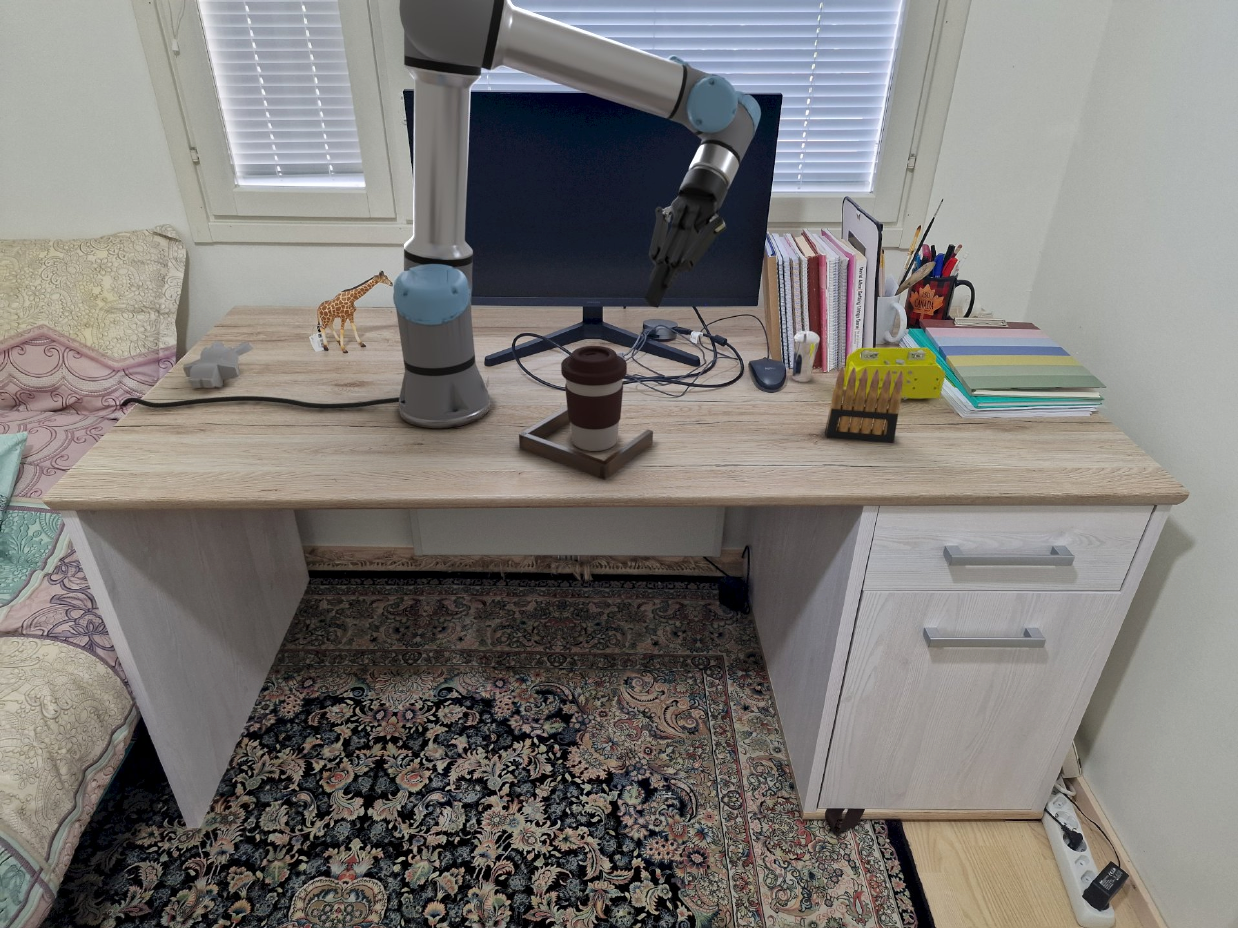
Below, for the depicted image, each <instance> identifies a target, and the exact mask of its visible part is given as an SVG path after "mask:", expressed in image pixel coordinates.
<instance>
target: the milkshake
mask: <svg viewBox="0 0 1238 928" xmlns="http://www.w3.org/2000/svg"><path fill="white" fill-rule="evenodd" d="M820 341H821V338H820V336H819V335H818V334H817V333H816V332H814V331H811V330H801V331H798V332H797V333H796V334H795V335H794V336H793V363H792V379H793V380H794V381H796V382H798V383H799V382H800V383H806V382H809V381H810V380H811V377H812V372H813V368H814V363H815V359H816V355H817V351H818V347H819V344H820Z"/></svg>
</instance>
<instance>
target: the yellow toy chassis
mask: <svg viewBox="0 0 1238 928" xmlns="http://www.w3.org/2000/svg"><path fill="white" fill-rule="evenodd" d="M937 357H938V356H937V354H935V353H934V352H933V351H932V350H931V349H930V348H929V347H858V348H857V349H855V350H854V351H852V352H851V353H849V354H848V355H847V356H846V361H845V367H844V372H845V378H844V387H843V388H844V391H845V390H846V387H847V383H848V378H849V375H850V373H851V371H852V369H853V368H855V370H856V383H855V395H856V392H857V389H858V385H859V381H860V378H861V375H862V373H863V371H864V369H865V368H866V369H867V373H868V380H867V388H866V398H867V394H868V391H869V388H870V385H871V380H872V377H873V375H874V373H875V371H876V370H877V369H878V370H879V385H878V397H879V394H880V391H881V388H882V385H883V381H884V378H885V375H886V373H887V372H888V371H889V370H890V371H891V385H890V397H891V394H892V392H893V388H894V385H895V381H896V378H897V376H898V374H899V373H900V371H902V372H903V386H902V392H901V399H903V400H904V401H906V400H908V399H913V400H923V399H940V398H941V394H942V389H943V386H944V381H945V377H946V371H945V370H944V369H943V368H942V367H941V365H940V364H938V362H937ZM878 397H877V399H878ZM890 397H889V401H890ZM854 400H855V396H854ZM865 401H866V399H865Z"/></svg>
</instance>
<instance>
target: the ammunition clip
mask: <svg viewBox="0 0 1238 928" xmlns="http://www.w3.org/2000/svg"><path fill="white" fill-rule="evenodd" d="M844 378H845V367H844V366H841V367H840V368H839V371H838V373H837V376H836V379H835V380H836V381H835V385H834V389H833V391H832V395H831V401H830V407H829V411H828V416H827V421H826V423H825V424H826V425H825V430H824V434H825V435H824V436H825V438H831V439H844V440H854V441H856V440H857V441H864V442H877V443H891V444H894V443H895V439H896V438H895V437H896V432H897V427H898V426H897V425H898V419H899V411H900V406H901V402H902V401H901V400H902V398H901V392H902V386H903V372H902V371H900V373H899V374H898V376H897V378H896V381H895V385H894V388H893V392H892V394H891V397H890V385H891V371H890V370H889V371H888V372H887V373H886V375H885V378H884V381H883V385H882V388H881V391H880V394H879V397H878V385H879V370H878V369H877V370H876V371H875V373H874V375H873V377H872V380H871V385H870V388H869V391H868V394H867V398H866V388H867V380H868V373H867V369H866V368H865V369H864V371H863V373H862V375H861V378H860V381H859V385H858V389H857V392H856V395H855V383H856V370H855V368H853V369H852V371H851V373H850V375H849V378H848V383H847V387H846V390H845V389H844V388H845V387H844ZM854 396H855V399H854ZM877 397H878V398H877ZM889 397H890V400H889ZM865 399H866V400H865Z"/></svg>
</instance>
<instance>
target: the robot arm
mask: <svg viewBox="0 0 1238 928" xmlns="http://www.w3.org/2000/svg"><path fill="white" fill-rule="evenodd" d="M398 9H399V17H400V22H401V25H402V29H403V54H404V55H403V67H404V69H405V70H406V71H407V72H408V73H409V76H411V77H412V79H413V83H414V84H413V197H412V199H413V202H412V203H413V206H412V207H413V209H412V210H413V211H412V212H413V213H412V215H413V216H412V218H413V219H412V222H413V223H412V224H413V226H412V236H411V238H409V239H408V240H407V241H406V242H405V243H404V244H403V271H402V272H400V273H399V274H398V275H397V276H396V277H395V280H394V281H393V293H392V295H393V296H392V301H393V304H394V306H395V309H396V310H395V311H396V318H397V324H398V331H399V338H400V345H401V351H402V360H403V366H404V373H403V379H402V383H401V387H400V388H401V389H400V393H399V396H397V397H389V398H388V397H387V398H380V399H372V400H365V401H358V402H357V401H356V402H342V403H341V402H340V403H322V402H321V403H319V402H308V401H301V400H297V399H291V398H285V397H284V398H283V397H275V396H262V395H261V396H260V395H259V396H258V395H234V396H233V395H231V396H230V395H229V396H216V397H205V398H203V397H202V398H194V399H193V398H192V399H185V400H177V401H167V402H152V401H148V400H144V399H142V398H137V397H128V398H125V399H124V400H122V402H121V404H120V406H119V407H123V408H124V407H127V406H128V405H129V404H131V403H132V404H138V405H141V406H144V407H147V408H148V407H149V408H153V409H163V408H164V409H166V408H175V407H176V408H177V407H183V406H184V407H185V406H190V405H192V406H193V405H200V404H201V405H203V404H212V403H213V404H214V403H226V402H263V403H264V402H265V403H275V404H276V403H277V404H285V405H292V406H297V407H302V408H310V409H320V410H321V409H322V410H323V409H325V410H327V409H328V410H329V409H332V410H334V409H353V408H365V407H372V406H379V405H388V404H395V403H396V404H397V403H398V409H399V415H400V417H401V418H402V419H403V420H404V421H405V422H406V423H407V424H410V425H413V426H415V427H420V428H426V429H449V428H456V427H460V426H465V425H468V424H471V423H473V422H476V421H478V420H479V419H481V418H483V417H484V416H485V415H486V414H487V413H488V412H489V410H490V409H491V397H490V392H489V390H488V387H489V385H490V376H489V375H488V377H487V379H486V381H484V379H483V377H482V375H481V373H480V370H479V368H478V366H477V363H476V350H475V341H474V340H475V339H474V331H473V329H474V328H473V319H472V294H473V264H474V263H473V262H474V259H473V258H474V251H473V248H472V247H471V246H470V245H469V244H468V243H467V242H466V216H467V215H466V214H467V194H468V193H467V192H468V191H467V190H468V167H469V166H468V165H469V142H470V139H469V138H470V117H471V116H470V115H471V114H470V113H471V90H472V87H473V86H474V85H475V84H476V83H477V82H478V81H479V80H480V79H481V78H482V69H483V70H487V71H491V72H494V71H495V70H497V69H499V68H500V67H501V68H502V67H504V68H507V69H510V70H513V71H517V72H519V73H522V74H526V75H529V76H532V77H535V78H539V79H540V80H541V79H542V80H545V81H548V82H551V83H555V84H557V85H561V86H563V87H567V88H569V89H574V90H576V91H578V92H582V93H585V94H588V95H592V96H595V97H598V98H601V99H604V100H608V101H611V102H613V103H617V104H620V105H624V106H627V107H630V108H632V109H636V110H638V111H639V110H640V111H642V112H646V113H649V114H652V115H655V116H658V117H661V118H665V119H667V120H669V121H672V122H676V123H678V124H681V125H683V126H684V127H686V128H687V129H688V130H690V131H691V132H692V134H694V136H696V137H698V138H699V139H700V140H701V141H700V144H699V146H698V148H697V150H696V152H695V154H694V156H693V158H692V161H691V163H690V165H689V167H688V171H687V172H686V174H685V176H684V178H683V180H682V181H681V184H680V187H679V189H678V193H677V197H676V198H675V199H674V200H673V201H672V202H671V203H670V205H669V206H667V207H664V208H663V207H661V206H657V207H656V208H655V210H654V211H655V217H656V220H655V225H654V229H653V232H652V233H653V234H652V237H651V242H650V246H649V251H648V257H649V259H650V260H651V262H652V263H653V265H654V267H653V269H652V272H651V274H650V276H649V280H648V281H649V282H650V284H649V287H648V290H647V292H646V294H645V296H644V299H645V301H646V302H647V303H648V305H649V306H650V307H652V308H656V309H657V308H659V307H660V305H661V302H662V300H663V298H664V296H665V294H666V292H667V290H671V289H672V288H673V286H674V285H675V282H676V280H677V278H678V275H679V274H680V273H681V272H686V273H690V272H691V271H693V270H694V268H695V267H696V265H697V264H698V262H699V261H700V260H701V258H702V257H703V256H704V255H705V253H706V252H707V251H708V249H709V248H710V247H711V245H712V244H713V242H714V241H715V239H716V238H717V237H718V236H719V235H721V234H722V233H724V232H725V231H726V230H727V225H726V223H725V221H724V218H723V217H722V216H720V215H719V210H720V209H721V207H722V206H723V204H724V203H723V202H725V201H724V200H725V198H726V196H727V194H728V191H729V190H728V189H730V187H731V185H732V182H733V181H734V178H735V176H736V174H737V172H738V170H739V167H740V166H741V162H742V160H743V158H744V156H745V154H746V152H747V150H748V148H749V146H750V144H751V142H752V141H753V139H754V137H755V134H756V131H757V129H758V126H759V123H760V121H761V115H762V112H761V110H762V109H761V107H760V105H759V103H758V101H757V100H756V98H754V97H753V96H752V95H751V94H745V93H744V92H743V91H740V90H736V89H735V87H734V86H733V85H732V83H731V82H730V81H728V80H727V79H726V78H725V77H723V76H721V75H717V74H714V73H713V74H711V73H708V72H705V71H703V70H699V69H696V68H694V67H692V66H691V65H690V64H689V62H688V61H684V60H683V59H682V58H681V57H679V56H678V55H675V54H672V55H669V56H668V57H667V58H665V57H663V56H659V55H656V54H653V53H650V52H647V51H645V50H642V49H639V48H635V47H633V46H631V45H627V44H624V43H621V42H619V41H616V40H614V39H609V38H607V37H604V36H602V35H598V34H595V33H593V32H591V31H588V30H584V29H582V28H578V27H575V26H573V25H570V24H566V23H563V22H561V21H558V20H556V19H552V18H550V17H547V16H543V15H540V14H537V13H535V12H532V11H529V10H526V9H524V8H520V7H518V6H515V5H514V4H513V3H512V1H511V0H399V7H398ZM671 218H673V219H672V221H671ZM670 222H671V227H670V230H669V231H668V228H669V224H670ZM667 233H668V234H667Z"/></svg>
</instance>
